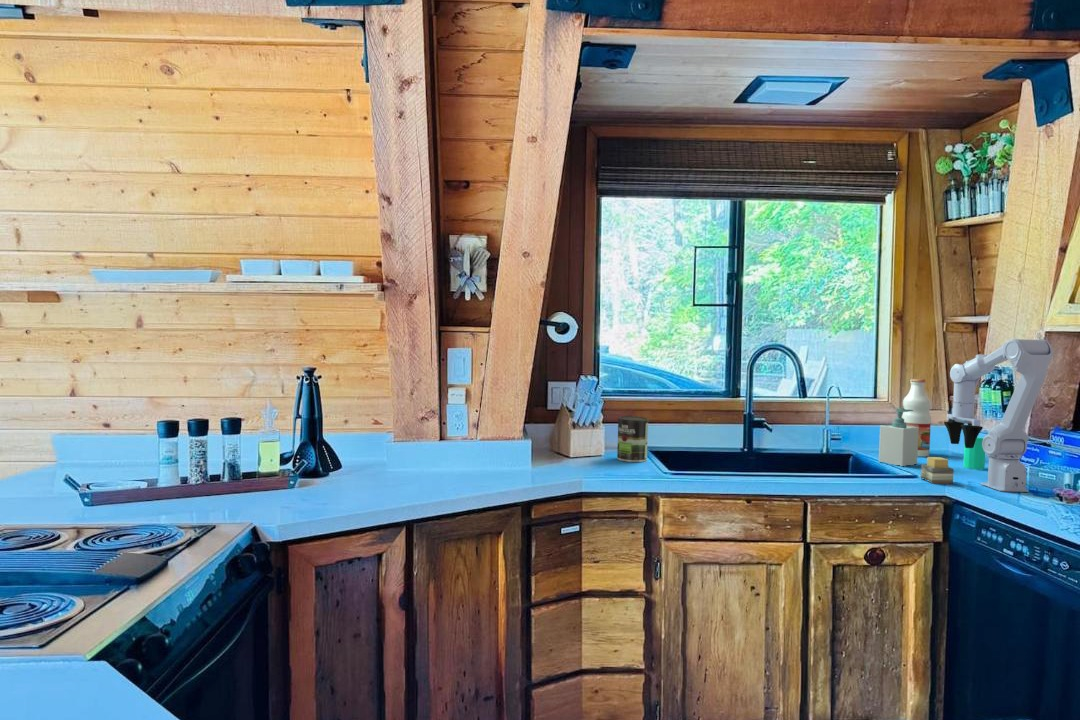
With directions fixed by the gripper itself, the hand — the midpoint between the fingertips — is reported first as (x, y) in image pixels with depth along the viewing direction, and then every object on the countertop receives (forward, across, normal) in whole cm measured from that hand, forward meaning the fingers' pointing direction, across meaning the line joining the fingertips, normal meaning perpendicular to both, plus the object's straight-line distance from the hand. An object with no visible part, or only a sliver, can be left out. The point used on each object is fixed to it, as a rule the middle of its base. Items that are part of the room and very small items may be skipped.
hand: (961, 445), depth 215 cm
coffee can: (+10, -15, -102) cm, 103 cm away
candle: (+10, -13, +12) cm, 20 cm away
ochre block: (+6, +10, -13) cm, 18 cm away
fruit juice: (+10, -37, +5) cm, 39 cm away
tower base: (+9, +10, -13) cm, 19 cm away
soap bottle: (+10, -18, -10) cm, 23 cm away
